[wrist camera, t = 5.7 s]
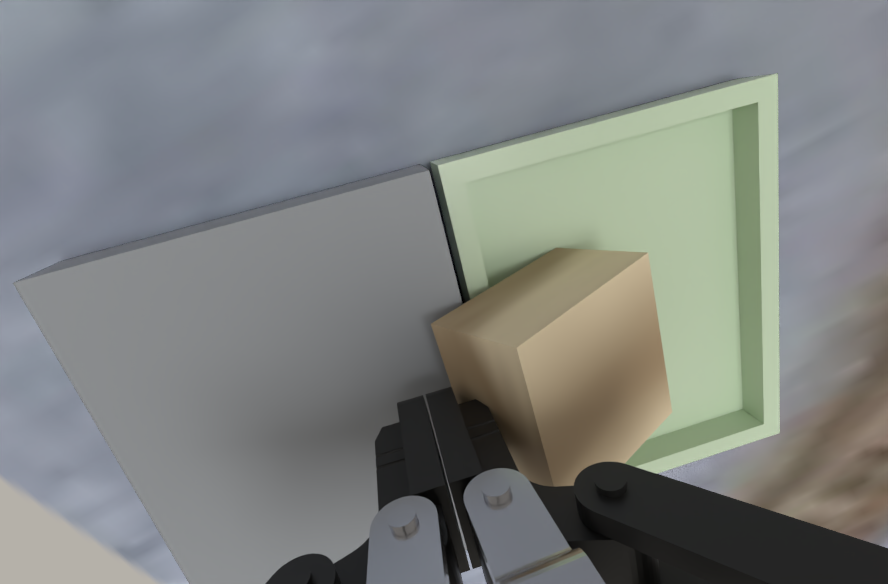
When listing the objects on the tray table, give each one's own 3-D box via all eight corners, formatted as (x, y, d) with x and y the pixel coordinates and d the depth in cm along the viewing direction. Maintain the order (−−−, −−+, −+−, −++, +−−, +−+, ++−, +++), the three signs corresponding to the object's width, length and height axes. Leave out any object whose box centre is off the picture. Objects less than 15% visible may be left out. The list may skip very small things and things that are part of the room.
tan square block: (430, 323, 12) (516, 348, 10) (556, 247, 15) (648, 252, 13) (481, 476, 14) (564, 527, 12) (586, 385, 17) (672, 412, 14)
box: (429, 161, 14) (437, 165, 13) (737, 78, 15) (777, 73, 13) (510, 487, 18) (523, 517, 17) (748, 410, 19) (779, 432, 18)
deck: (61, 261, 13) (12, 282, 11) (419, 164, 14) (428, 169, 12) (233, 578, 17) (218, 632, 16) (502, 490, 18) (519, 531, 16)
